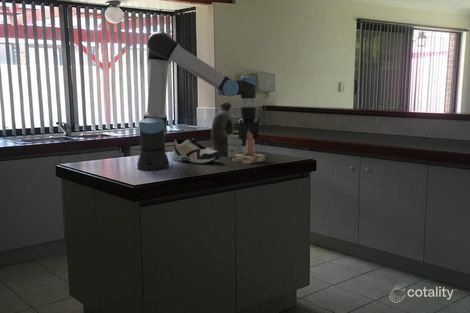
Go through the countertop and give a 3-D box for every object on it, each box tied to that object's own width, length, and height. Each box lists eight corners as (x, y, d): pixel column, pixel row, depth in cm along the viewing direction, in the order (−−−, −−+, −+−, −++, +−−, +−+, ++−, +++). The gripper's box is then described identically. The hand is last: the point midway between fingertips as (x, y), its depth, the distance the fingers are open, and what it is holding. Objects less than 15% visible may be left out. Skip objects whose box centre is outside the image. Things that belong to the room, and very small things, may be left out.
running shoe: (212, 166, 235) (212, 141, 233) (165, 161, 250) (165, 138, 249) (225, 162, 244) (224, 139, 242) (179, 158, 260) (178, 136, 258)
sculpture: (238, 152, 275) (238, 100, 270) (221, 155, 264) (221, 101, 260) (224, 151, 282) (223, 100, 278) (207, 153, 272) (206, 101, 267)
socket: (247, 163, 239) (247, 157, 239) (232, 160, 248) (232, 154, 248) (265, 160, 247) (265, 155, 246) (249, 158, 256) (249, 152, 255)
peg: (248, 161, 245) (248, 134, 243) (243, 160, 248) (243, 133, 246) (254, 160, 247) (254, 133, 245) (249, 159, 250) (249, 133, 248)
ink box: (244, 155, 264) (244, 134, 262) (243, 157, 259) (243, 135, 257) (228, 155, 264) (228, 134, 263) (227, 157, 260) (227, 135, 258)
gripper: (240, 107, 235) (240, 154, 239) (265, 106, 246) (265, 151, 249) (230, 107, 241) (231, 153, 244) (255, 105, 251) (256, 149, 255)
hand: (248, 151), depth 247 cm, fingers closed on peg, 4 cm apart
